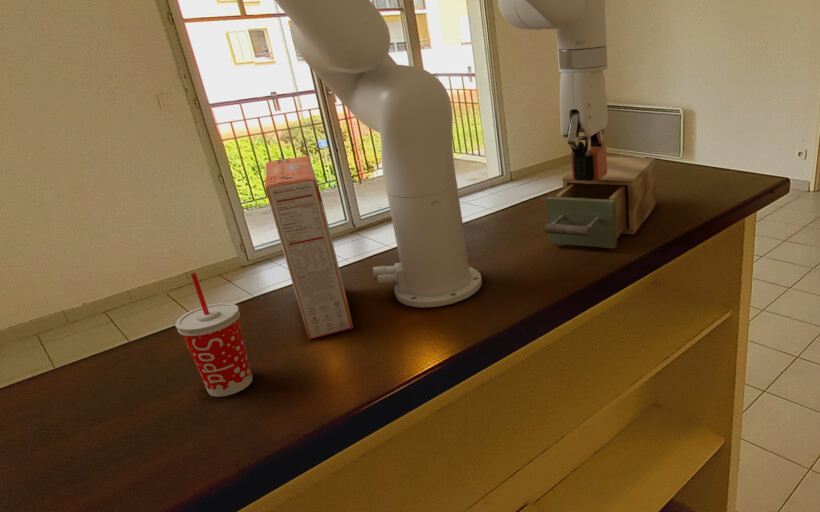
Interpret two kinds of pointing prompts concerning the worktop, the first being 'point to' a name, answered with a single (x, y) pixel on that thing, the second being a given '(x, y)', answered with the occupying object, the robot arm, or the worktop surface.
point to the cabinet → (629, 186)
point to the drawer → (588, 215)
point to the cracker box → (307, 245)
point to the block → (596, 162)
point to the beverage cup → (216, 345)
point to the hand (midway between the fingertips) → (589, 174)
